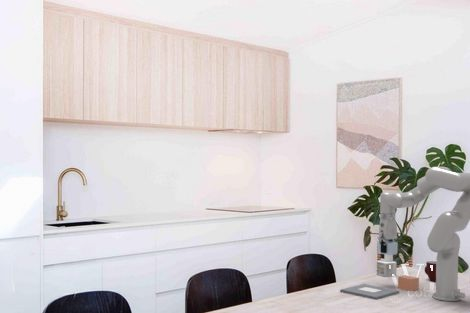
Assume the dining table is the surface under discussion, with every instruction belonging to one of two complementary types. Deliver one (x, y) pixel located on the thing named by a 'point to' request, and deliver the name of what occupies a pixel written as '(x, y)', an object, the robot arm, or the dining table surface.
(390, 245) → the blue brick
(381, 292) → the baseplate
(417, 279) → the terracotta brick
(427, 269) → the mug
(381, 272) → the container
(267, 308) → the dining table surface
